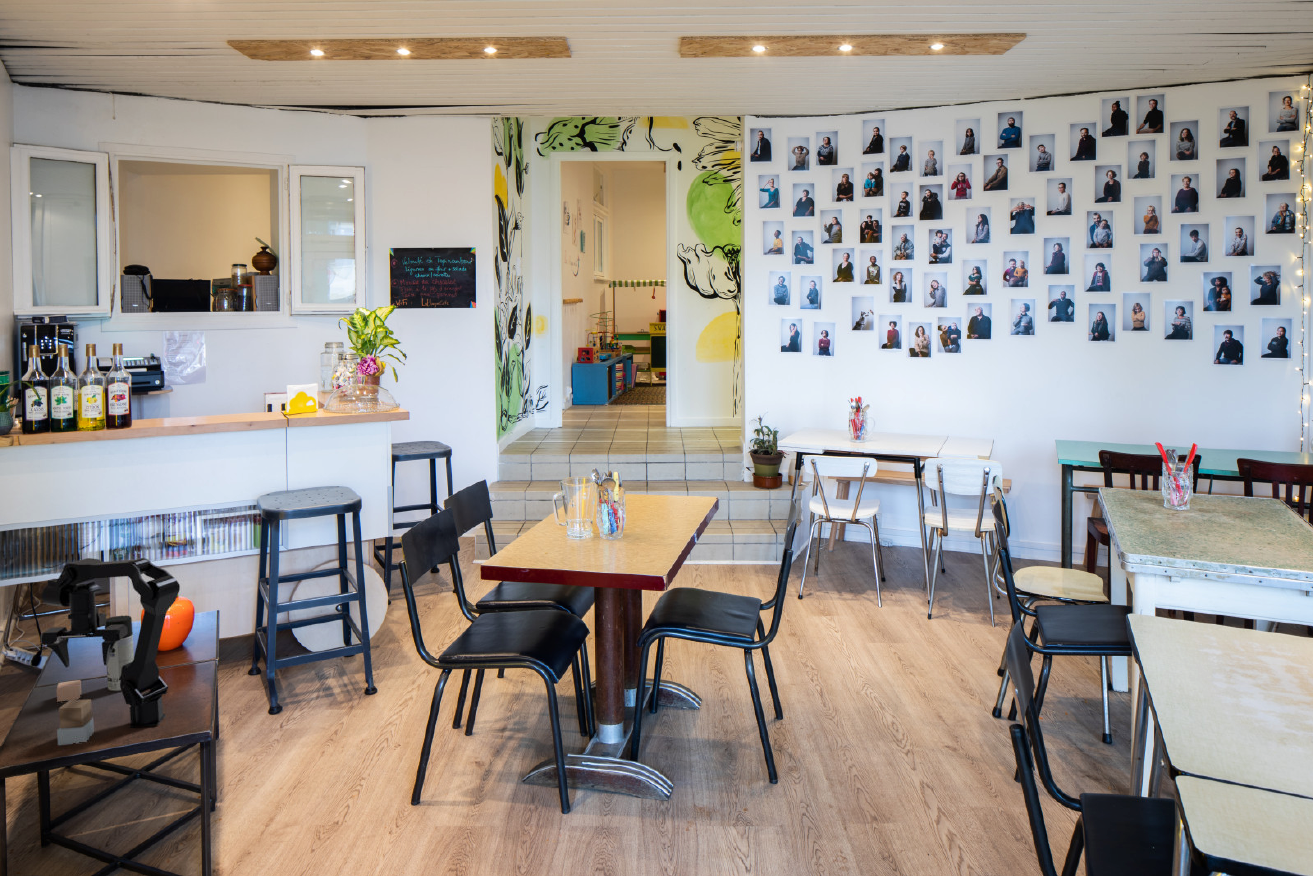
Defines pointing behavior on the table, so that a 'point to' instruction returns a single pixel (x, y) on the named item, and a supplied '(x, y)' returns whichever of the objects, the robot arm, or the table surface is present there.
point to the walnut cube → (75, 713)
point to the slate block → (75, 734)
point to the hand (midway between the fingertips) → (86, 665)
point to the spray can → (119, 652)
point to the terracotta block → (69, 690)
